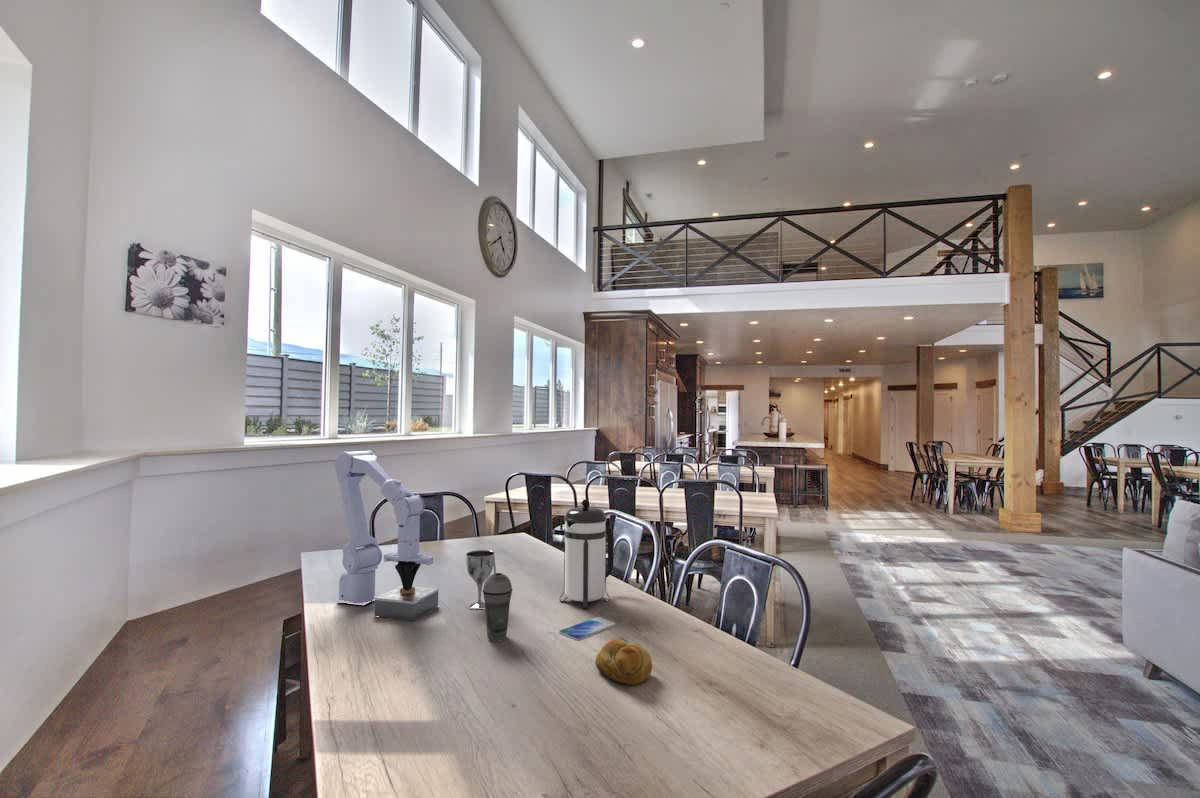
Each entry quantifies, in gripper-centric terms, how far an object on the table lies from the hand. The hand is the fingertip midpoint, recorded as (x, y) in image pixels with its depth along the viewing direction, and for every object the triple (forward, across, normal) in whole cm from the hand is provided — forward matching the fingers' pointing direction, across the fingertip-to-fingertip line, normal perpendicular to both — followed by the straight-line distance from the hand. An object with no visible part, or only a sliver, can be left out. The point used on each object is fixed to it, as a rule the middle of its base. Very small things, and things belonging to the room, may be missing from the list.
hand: (407, 589), depth 154 cm
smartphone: (+7, -52, -2) cm, 52 cm away
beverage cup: (+6, -32, +10) cm, 34 cm away
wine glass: (+6, -17, -10) cm, 21 cm away
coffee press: (+6, -45, -24) cm, 51 cm away
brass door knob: (+6, 0, 0) cm, 6 cm away
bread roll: (+7, -66, +21) cm, 70 cm away
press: (+6, 0, -1) cm, 6 cm away
